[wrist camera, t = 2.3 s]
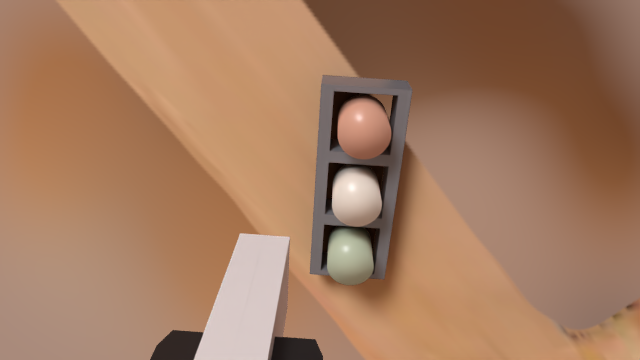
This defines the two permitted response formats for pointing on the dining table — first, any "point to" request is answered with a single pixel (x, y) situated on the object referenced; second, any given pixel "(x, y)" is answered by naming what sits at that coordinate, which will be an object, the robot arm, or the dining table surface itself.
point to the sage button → (349, 255)
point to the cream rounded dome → (356, 195)
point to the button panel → (334, 153)
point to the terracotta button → (363, 127)
